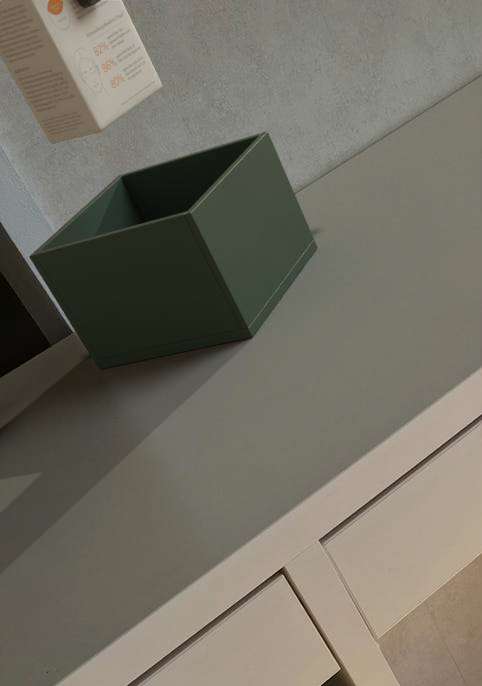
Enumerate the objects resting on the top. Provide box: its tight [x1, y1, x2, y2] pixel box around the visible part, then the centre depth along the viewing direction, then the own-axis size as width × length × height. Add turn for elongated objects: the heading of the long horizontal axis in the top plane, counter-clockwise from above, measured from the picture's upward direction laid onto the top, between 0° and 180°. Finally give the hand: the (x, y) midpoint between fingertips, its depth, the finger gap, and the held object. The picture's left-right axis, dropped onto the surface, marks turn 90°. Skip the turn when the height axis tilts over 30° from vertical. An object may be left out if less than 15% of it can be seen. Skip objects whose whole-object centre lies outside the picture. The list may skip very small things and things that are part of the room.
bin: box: [28, 131, 319, 370], centre depth 85 cm, size 15×15×10 cm
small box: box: [0, 0, 163, 145], centre depth 73 cm, size 8×6×10 cm
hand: (55, 17), depth 73 cm, fingers closed on small box, 6 cm apart
